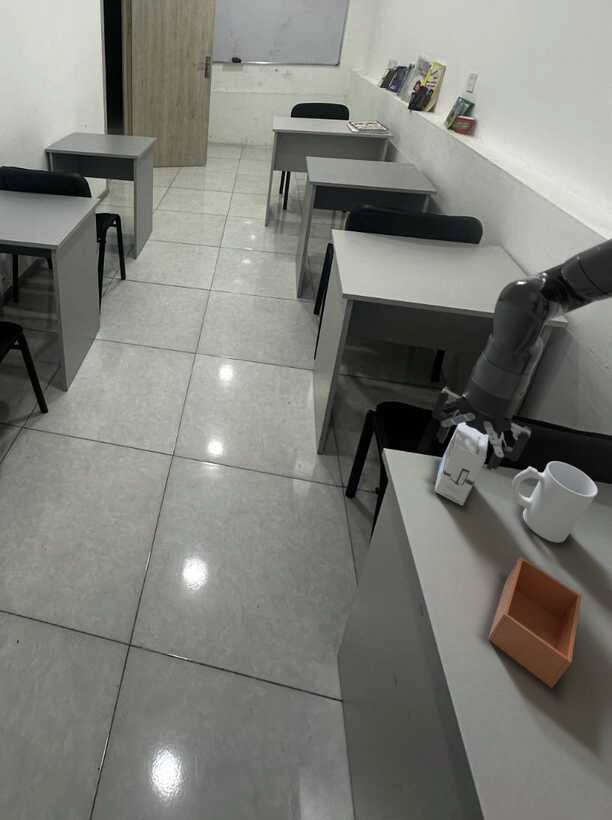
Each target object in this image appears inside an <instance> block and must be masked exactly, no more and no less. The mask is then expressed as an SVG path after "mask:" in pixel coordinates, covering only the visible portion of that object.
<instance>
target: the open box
mask: <svg viewBox="0 0 612 820" xmlns="http://www.w3.org/2000/svg"><path fill="white" fill-rule="evenodd" d="M581 603H582V594H579V593H578V592H577V591H575V590H573V589H572V588H570V587H569V586H567V585H565V584H564V583H562V582H561V581H560V580H558V579H557V578H555V577H553V576H552V575H550V574H549V573H547V572H546V571H544V570H543V569H541V568H540V567H538V566H537V565H535V564H534V563H532V562H531V561H529V560H527V559H525V558H524V557H523V556H521V555H520V556H519V557H518V559H517V561H516V562H515V565H514V566H513V568H512V570H511V571H510V573H509V574H508V576H507V577H506V580H505V582H504V585H503V589H502V592H501V595H500V598H499V602H498V605H497V608H496V611H495V615H494V618H493V621H492V622H493V623H492V625H491V628H490V631H489V635H488V637H487V638H488V639H487V640H488V641H489V642H491V643H492V644H494V645H495V646H496V647H498V648H499V649H500V650H501V651H503V652H504V653H505V654H507V655H508V656H509V657H511V658H512V659H513V660H514V661H516V662H517V663H518V664H520V665H521V666H522V667H524V668H525V669H526V670H527V671H529V672H530V673H532V675H535V677H537V678H538V679H539V680H540V681H542V682H543V683H545V684H546V685H547V686H548V687H550V688H551V689H552V688H553V687H554V686H555V685H556V684H557V682H558V681H559V680H560V679H561V678H562V676H563V674H564V673H565V672H566V670H567V669H568V668H569V667H570V666H571V664H572V661H573V653H574V647H575V643H576V642H575V641H576V634H577V627H578V622H579V615H580V608H581Z"/></svg>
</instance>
